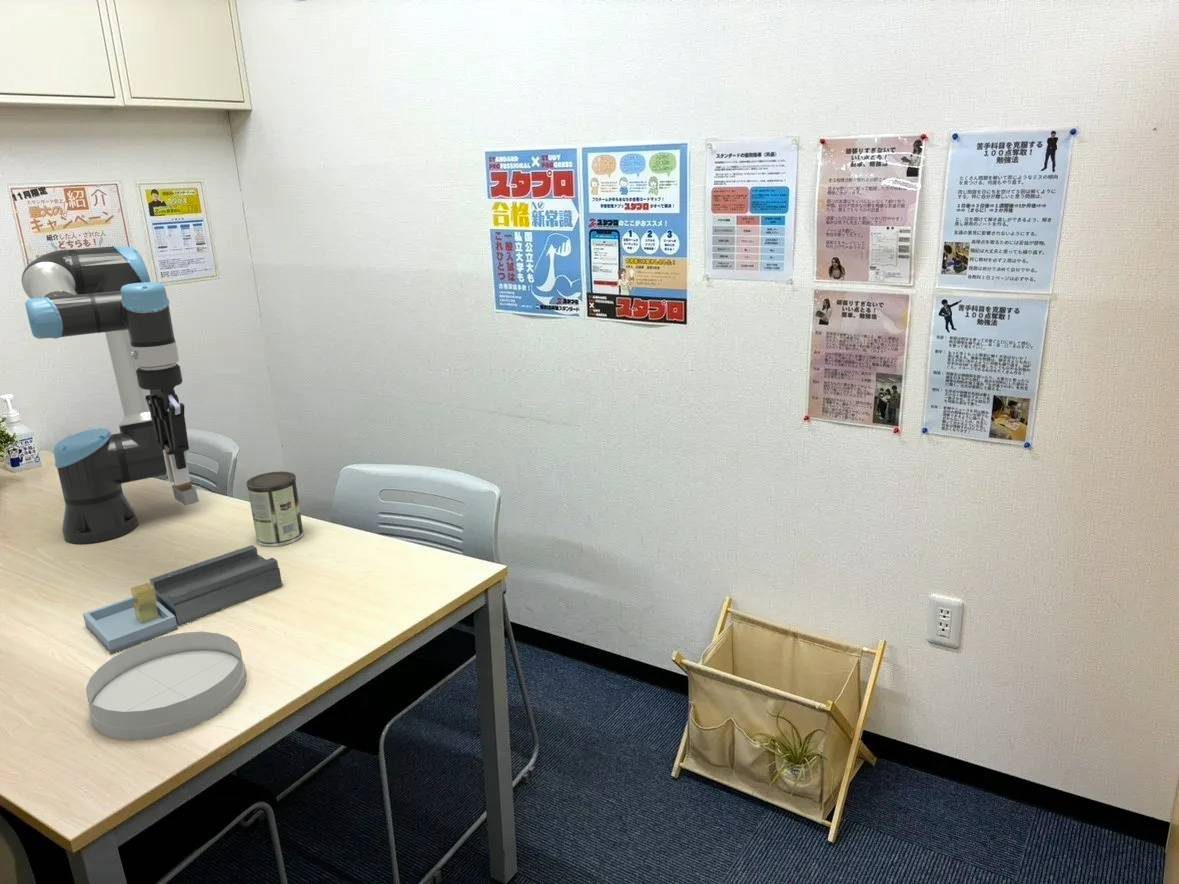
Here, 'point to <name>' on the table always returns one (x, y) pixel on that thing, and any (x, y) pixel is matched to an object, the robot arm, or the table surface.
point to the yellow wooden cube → (146, 613)
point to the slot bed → (216, 583)
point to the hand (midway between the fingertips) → (179, 481)
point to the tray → (126, 625)
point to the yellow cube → (143, 595)
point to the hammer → (182, 487)
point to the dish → (165, 685)
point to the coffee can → (275, 508)
